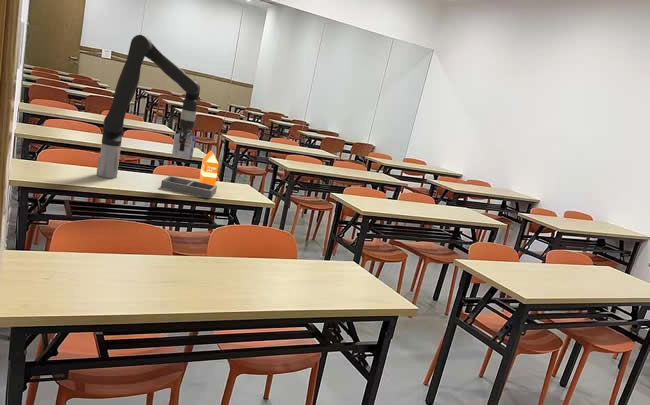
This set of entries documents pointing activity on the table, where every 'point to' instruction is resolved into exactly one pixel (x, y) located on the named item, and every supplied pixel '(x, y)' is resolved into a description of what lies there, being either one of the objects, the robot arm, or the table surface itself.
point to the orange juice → (209, 169)
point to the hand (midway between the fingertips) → (183, 150)
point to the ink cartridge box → (187, 149)
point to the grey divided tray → (189, 186)
